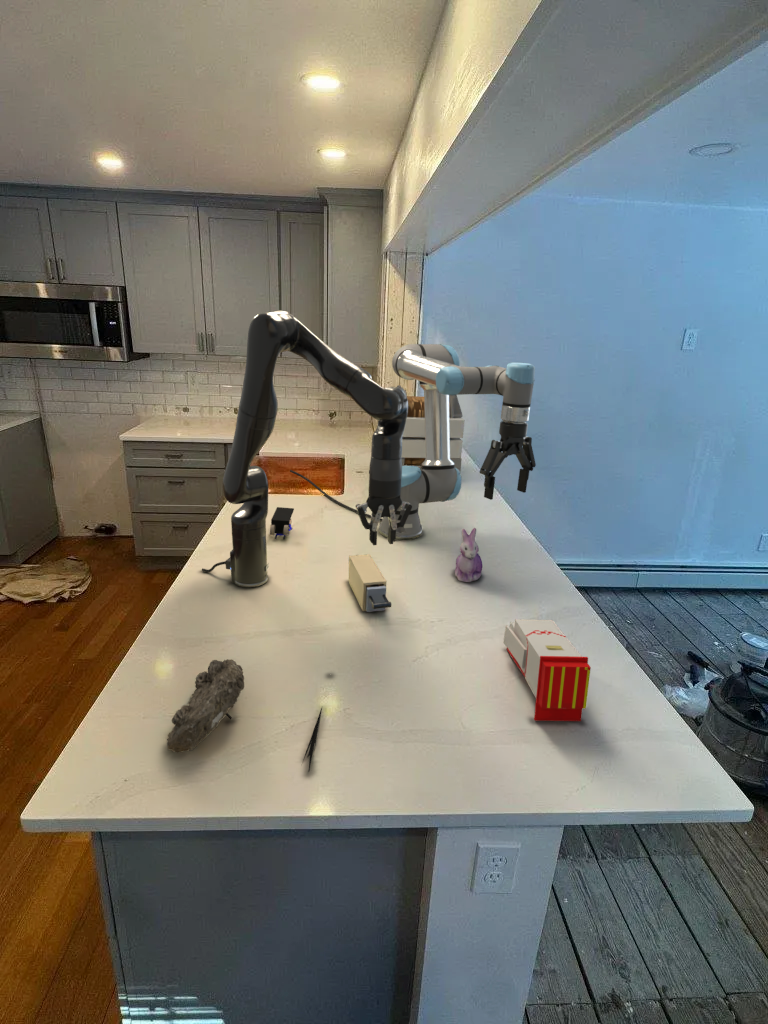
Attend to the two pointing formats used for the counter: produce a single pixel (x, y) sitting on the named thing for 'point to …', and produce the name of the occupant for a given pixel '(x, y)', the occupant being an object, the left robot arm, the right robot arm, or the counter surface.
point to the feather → (313, 740)
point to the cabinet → (363, 576)
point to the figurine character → (281, 522)
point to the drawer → (376, 598)
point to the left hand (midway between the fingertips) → (382, 543)
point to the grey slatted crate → (416, 432)
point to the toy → (549, 668)
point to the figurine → (468, 558)
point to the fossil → (206, 705)
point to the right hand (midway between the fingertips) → (505, 494)
